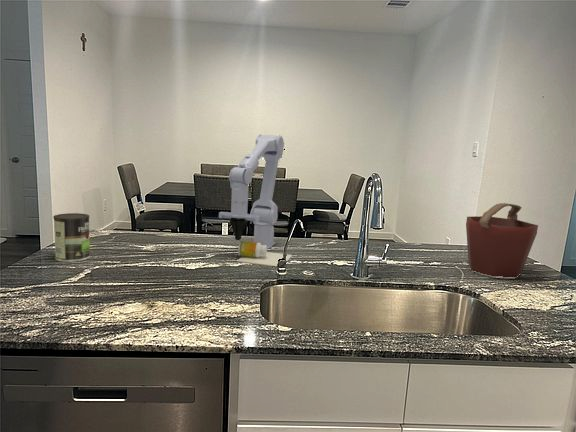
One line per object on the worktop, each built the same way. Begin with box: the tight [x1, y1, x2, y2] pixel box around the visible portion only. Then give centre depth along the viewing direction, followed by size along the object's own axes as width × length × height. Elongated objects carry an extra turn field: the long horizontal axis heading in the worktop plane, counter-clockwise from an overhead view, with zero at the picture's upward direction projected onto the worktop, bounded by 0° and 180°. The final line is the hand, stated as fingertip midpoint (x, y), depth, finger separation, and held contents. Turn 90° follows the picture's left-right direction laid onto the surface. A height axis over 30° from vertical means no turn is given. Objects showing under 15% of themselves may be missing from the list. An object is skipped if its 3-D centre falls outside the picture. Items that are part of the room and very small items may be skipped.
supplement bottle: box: [237, 240, 268, 258], centre depth 148 cm, size 5×5×10 cm
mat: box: [236, 251, 294, 268], centre depth 148 cm, size 16×16×1 cm
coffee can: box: [52, 212, 91, 263], centre depth 135 cm, size 10×10×14 cm
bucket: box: [465, 202, 539, 277], centre depth 146 cm, size 24×22×25 cm
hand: (238, 239), depth 148 cm, fingers closed
